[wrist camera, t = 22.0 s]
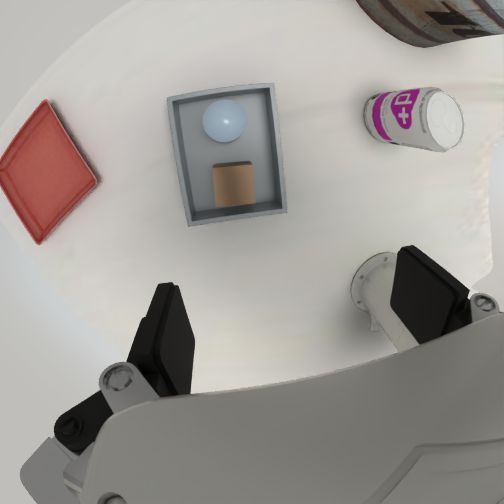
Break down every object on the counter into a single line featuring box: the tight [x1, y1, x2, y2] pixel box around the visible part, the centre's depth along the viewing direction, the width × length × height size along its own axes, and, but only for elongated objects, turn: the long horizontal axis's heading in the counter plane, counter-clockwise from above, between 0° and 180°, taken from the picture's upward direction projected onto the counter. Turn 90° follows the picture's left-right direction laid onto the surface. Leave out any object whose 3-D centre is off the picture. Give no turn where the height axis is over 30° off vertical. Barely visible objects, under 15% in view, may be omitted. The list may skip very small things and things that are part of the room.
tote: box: [167, 83, 287, 227], centre depth 34 cm, size 17×13×5 cm
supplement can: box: [365, 87, 465, 152], centre depth 29 cm, size 8×8×15 cm
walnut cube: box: [212, 161, 255, 207], centre depth 35 cm, size 5×5×5 cm
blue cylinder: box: [202, 100, 247, 143], centre depth 31 cm, size 5×5×7 cm
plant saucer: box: [0, 99, 98, 245], centre depth 33 cm, size 18×18×3 cm
